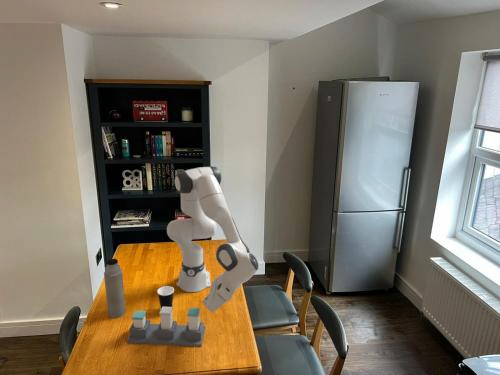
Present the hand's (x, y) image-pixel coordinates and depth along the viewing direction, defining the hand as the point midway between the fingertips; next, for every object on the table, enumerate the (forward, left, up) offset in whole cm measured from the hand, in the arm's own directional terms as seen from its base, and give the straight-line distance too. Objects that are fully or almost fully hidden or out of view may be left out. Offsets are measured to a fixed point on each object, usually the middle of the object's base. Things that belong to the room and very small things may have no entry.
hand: (204, 302), depth 157 cm
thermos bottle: (-14, -44, -17) cm, 50 cm away
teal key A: (0, -28, -16) cm, 33 cm away
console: (0, -16, -17) cm, 24 cm away
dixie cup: (-18, -21, -17) cm, 33 cm away
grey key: (0, -16, -13) cm, 21 cm away
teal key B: (0, -4, -13) cm, 14 cm away
